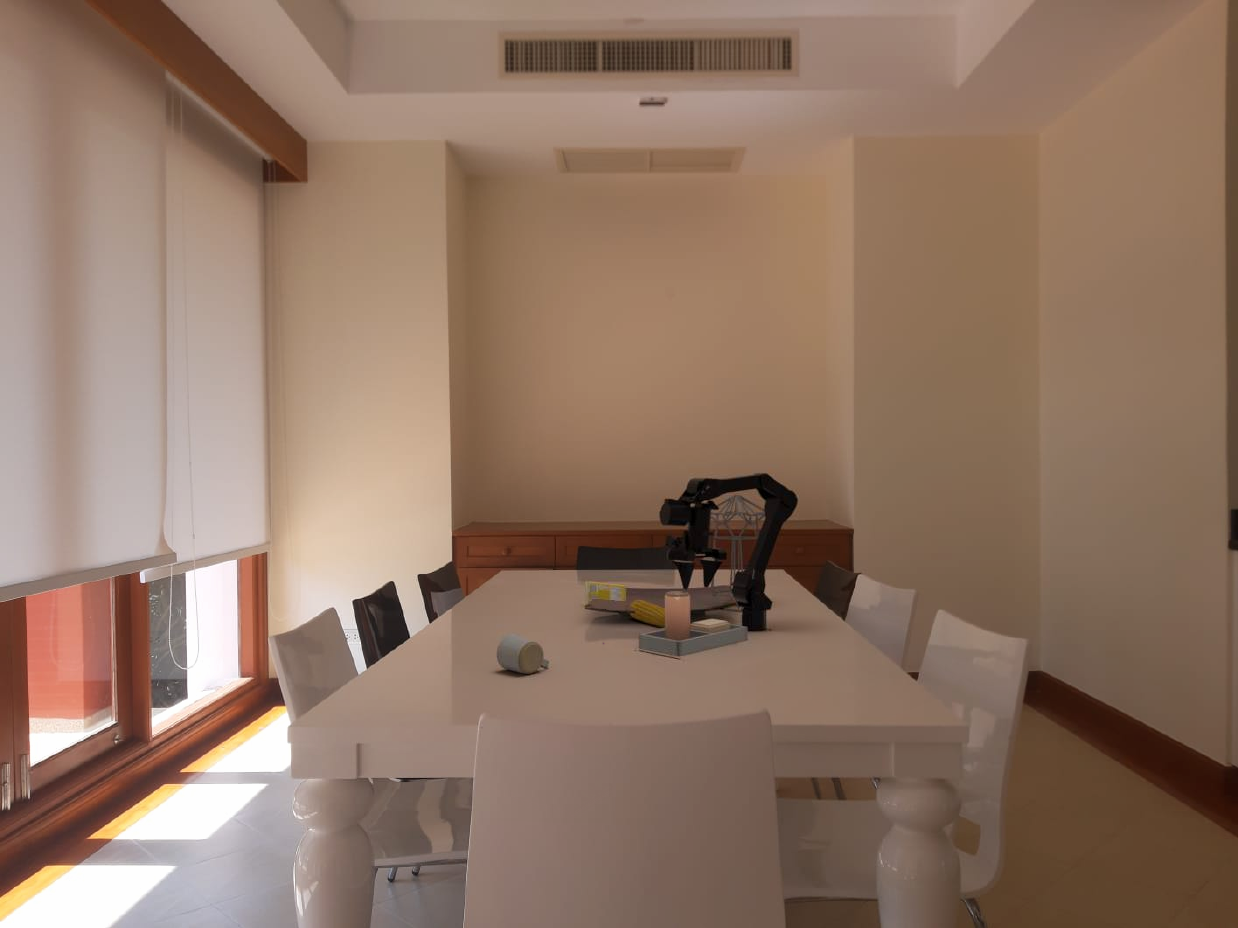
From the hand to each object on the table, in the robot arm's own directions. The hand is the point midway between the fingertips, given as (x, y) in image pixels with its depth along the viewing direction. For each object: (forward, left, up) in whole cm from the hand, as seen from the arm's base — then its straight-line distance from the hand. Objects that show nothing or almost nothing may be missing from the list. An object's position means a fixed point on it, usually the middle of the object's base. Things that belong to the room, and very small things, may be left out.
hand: (695, 588), depth 220 cm
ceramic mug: (+51, -4, -13) cm, 53 cm away
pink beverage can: (+14, +7, -12) cm, 20 cm away
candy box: (-14, -50, -13) cm, 53 cm away
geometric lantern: (-44, -21, -13) cm, 50 cm away
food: (-7, -23, -13) cm, 27 cm away
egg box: (+2, +7, -12) cm, 14 cm away
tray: (+8, +7, -13) cm, 17 cm away
